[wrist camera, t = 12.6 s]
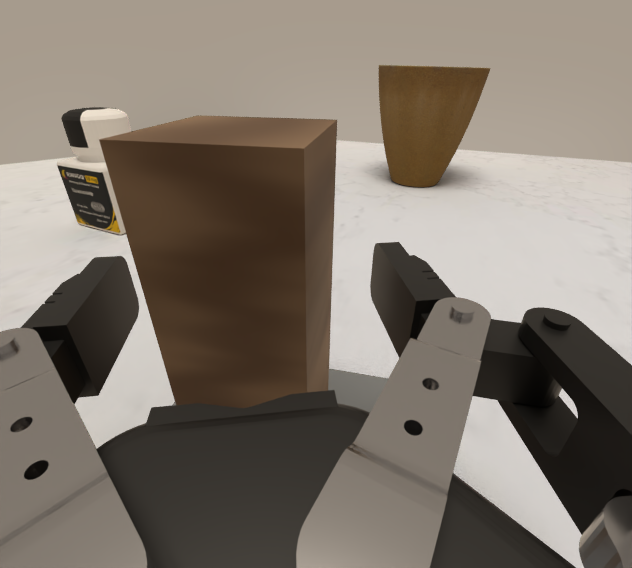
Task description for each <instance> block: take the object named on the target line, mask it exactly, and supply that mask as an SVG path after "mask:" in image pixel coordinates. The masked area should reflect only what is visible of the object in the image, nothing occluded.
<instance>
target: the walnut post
mask: <svg viewBox="0 0 632 568" xmlns="http://www.w3.org/2000/svg"><path fill="white" fill-rule="evenodd" d="M336 136H337V120H326V119H293V118H261V117H227V116H194V117H190V118H185V119H182V120H178V121H173V122H169V123H165V124H161V125H157V126H153V127H149V128H144V129H140V130H136V131H132V132H128V133H124V134H120V135H115V136H111V137H107V138H103V139H99V142H100V145H101V148H102V152H103V155H104V159H105V162H106V166H107V169H108V172H109V176H110V179H111V183H112V186H113V190H114V193H115V196H116V200H117V203H118V207H119V210H120V214H121V217H122V221H123V224H124V227H125V231H126V234H127V238H128V241H129V245H130V248H131V251H132V255H133V258H134V262H135V265H136V269H137V272H138V275H139V279H140V282H141V286H142V289H143V293H144V296H145V299H146V303H147V306H148V310H149V313H150V317H151V320H152V323H153V327H154V330H155V334H156V337H157V341H158V344H159V348H160V351H161V354H162V358H163V361H164V365H165V368H166V372H167V375H168V378H169V382H170V385H171V389H172V392H173V396H174V399H175V402H176V405H184V404H194V403H202V404H210V405H219V406H228V407H236V408H247V407H251V406H255V405H258V404H261V403H264V402H267V401H271V400H274V399H277V398H280V397H283V396H287V395H290V394H297V393H307V392H317V391H328V380H329V349H330V319H331V288H332V258H333V227H334V197H335V167H336Z"/></svg>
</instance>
